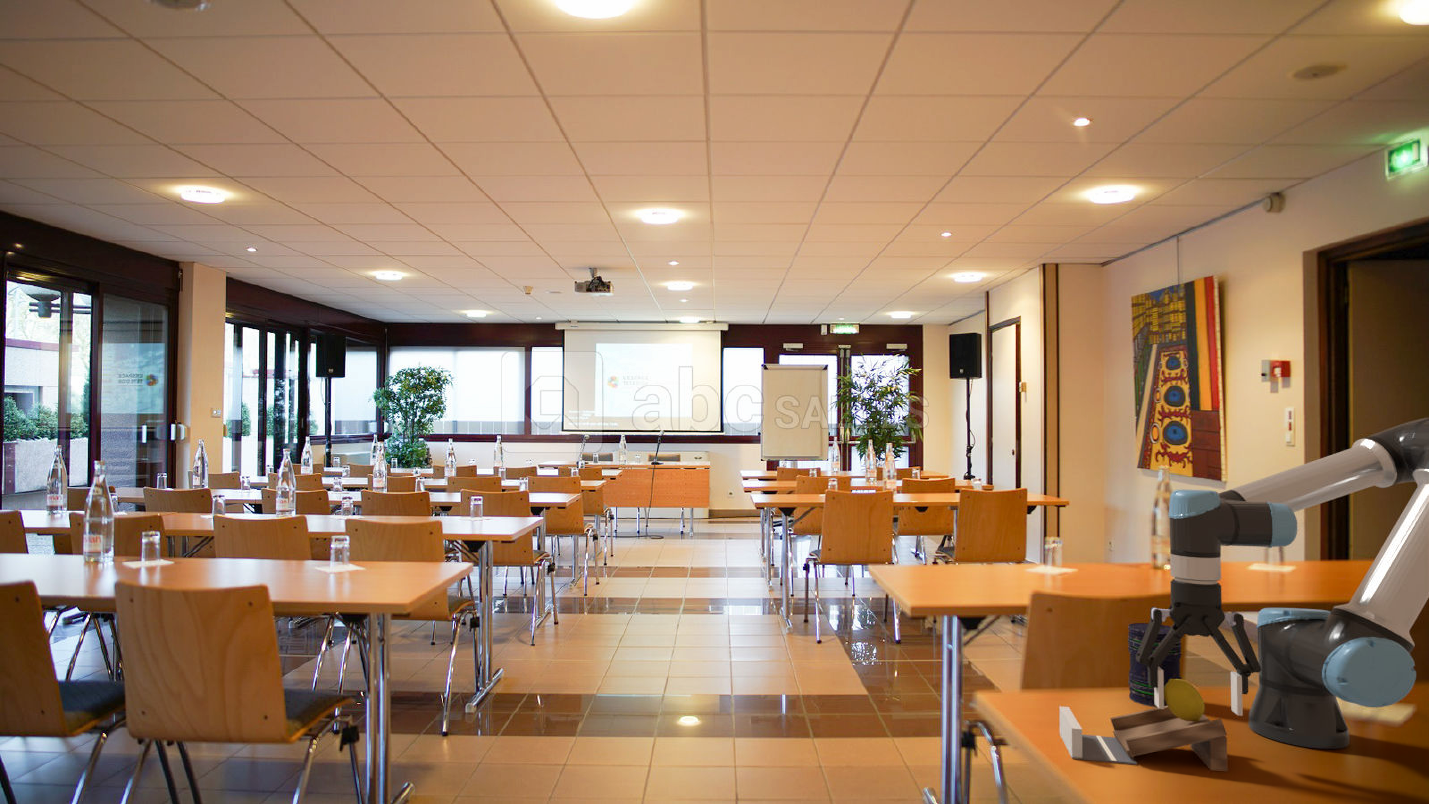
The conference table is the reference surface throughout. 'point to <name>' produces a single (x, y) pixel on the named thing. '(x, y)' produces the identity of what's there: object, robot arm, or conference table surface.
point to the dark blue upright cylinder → (1139, 672)
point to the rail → (1071, 732)
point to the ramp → (1172, 735)
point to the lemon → (1184, 700)
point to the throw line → (1106, 748)
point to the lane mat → (1097, 753)
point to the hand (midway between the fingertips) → (1197, 710)
